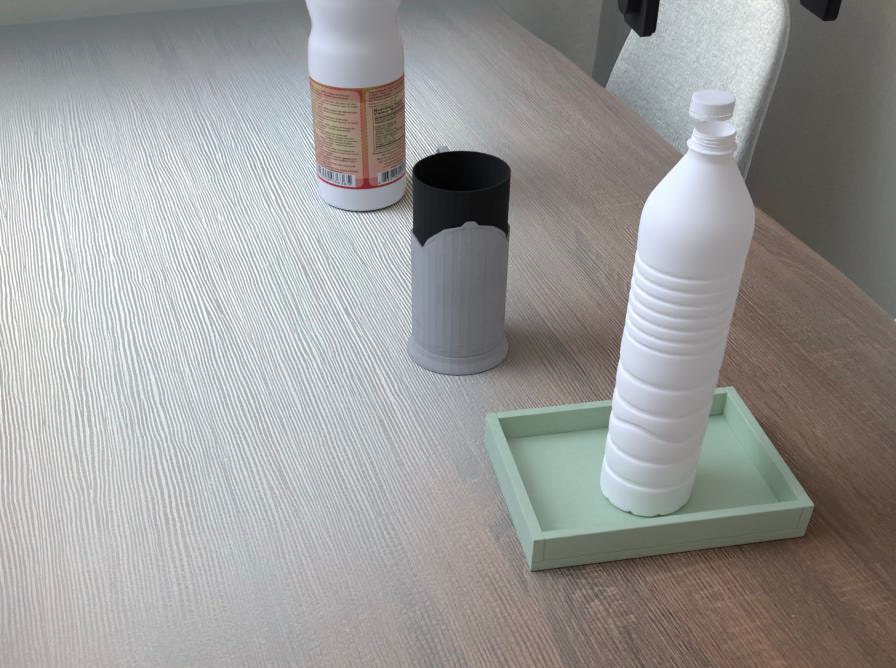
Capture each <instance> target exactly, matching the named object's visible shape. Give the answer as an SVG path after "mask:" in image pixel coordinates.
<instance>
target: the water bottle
mask: <svg viewBox="0 0 896 668" xmlns="http://www.w3.org/2000/svg"><path fill="white" fill-rule="evenodd" d="M736 101H737V99H736V96H735V95H734V93H733V94H732V93H731V92H729V91H726V90H722V89H713V88H709V89H708V88H707V89H701V90H697V91H695V92H693V94H692V95H691V98H690V104H689V109H688V115H690V117H691V118H693V119H695V120H697V121H699V122H697V123H696V124H694V127H693V128H692V130H693V131H692V134H691V137H689V138H688V139H687V141H686V145H687V147H688V150H687V152H685V154H684V155H683V156H682V157H681V158H680V159H679V161H678V162H677V163H676V164H675V165H674V166H673V167H672V168H671V169H670V170H669V172H668V173H667V174H666V175H665V176H664V177H663V178H662V179H661V180H660V182H659V183H658V184H657V185H656V187H654V188H653V189H652V191H651V193H650V194H649V195H648V197H647V199H646V201H645V203H644V205H643V208H642V211H641V214H640V218H639V224H638V225H639V226H638V231H637V243H636V251H635V256H634V264H633V266H632V276H631V280H630V289H629V294H628V301H627V306H626V314H625V319H624V321H625V322H624V323H625V324H624V327H623V332H622V337H621V342H620V350H619V351H620V352H619V361H618V363H617V368H616V373H615V374H616V375H615V386H614V389H613V394H612V399H611V400H612V411H611V414H610V419H609V431H608V434H607V439H606V446H605V455H604V458H603V464H602V470H601V476H600V487H601V490H602V493H603V495H604V496H605V497H606V498H607V499H609V501H610V502H611V504H613V505H614V506H615V507H617V508H619V509H621V510H623V511H626V512H629V511H631V512H632V513H633V514H635V515H640V516H656V515H657V514H659V515H667V514H670V513H673V512H675V511H677V510H678V509H680V507H681V506H684V505H685V504H686V502H687V501H688V499H689V497H690V495H691V492H692V487H693V483H694V479H695V474H696V467H697V464H698V461H699V458H700V453H701V446H702V442H703V439H704V436H705V432H706V428H707V423H708V416H709V414H710V411H711V407H712V402H713V396H714V393H715V390H716V388H717V387H718V382H719V377H720V370H721V368H722V365H723V361H724V358H725V352H726V347H727V342H728V336H729V333H730V330H731V324H732V322H733V317H734V311H735V309H736V304H737V299H738V296H739V291H740V286H741V284H742V279H743V274H744V271H745V267H746V260H747V258H748V255H749V251H750V248H751V244H752V241H753V236H754V231H755V225H756V214H755V206H754V202H753V199H752V197H751V196H752V195H751V194H750V192H749V189H748V187H747V185H746V182H745V180H744V178H743V175H742V173H741V171H740V169H739V166H738V164H737V162H736V159H735V157H734V153H735V152H736V151H737V149H738V147H739V144H738V143H737V142H736V137H737V128H736V127H735V126H734V125H733V124H731V123H730V122H729V123H728V122H726V121H729V120H731V119H732V118H733V115H734V111H735V106H736Z"/></svg>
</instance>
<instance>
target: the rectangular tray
mask: <svg viewBox="0 0 896 668" xmlns="http://www.w3.org/2000/svg"><path fill="white" fill-rule="evenodd" d="M612 400H613V399H604V400H596V401H586V402H577V403H569V404H560V405H552V406H541V407H534V408H532V407H531V408H523V409H515V410H506V411H497V412H487V413H485V418H484V435H483V436H484V437H483V444H484V447H485V450H486V453H487V455H488V458H489V461H490V464H491V466H492V467H491V468H492V469H493V472H494V475H495V477H496V480H497V483H498V486H499V488H500V491H501V494H502V497H503V500H504V502H505V505H506V507H507V511H508V514H509V516H510V519H511V522H512V524H513V527H514V530H515V533H516V536H517V538H518V540H519V543H520V546H521V549H522V551H523V554H524V558H525V560H526V563H527V566H528V568H529V571H530V572H536V571H543V570H551V569H559V568H567V567H575V566H583V565H590V564H598V563H605V562H614V561H622V560H630V559H638V558H645V557H652V556H661V555H667V554H668V555H669V554H677V553H683V552H691V551H700V550H707V549H716V548H722V547H723V548H724V547H730V546H731V547H732V546H739V545H747V544H754V543H761V542H771V541H778V540H785V539H793V538H802V537H805V534H806V532H807V528H808V526H809V522H810V520H811V517H812V514H813V511H814V508H815V504H814V502H813V501H812V499H811V498H810V497H809V495H808V494H807V492H806V490H805V489H804V487H803V486H802V485H801V483H800V482H799V480H798V479H797V478H796V475H794V473H793V472H792V470H791V469H790V467H789V465H787V463H786V461H785V460H784V458H783V457H782V455H781V454H780V453H779V451H778V450H777V448H776V447H775V445H774V444H773V442H772V441H771V439H770V438H769V437H768V434H766V432H765V430H764V429H763V428H762V426H761V425H760V424H759V422H758V420H757V419H756V418H755V416H754V414H753V413H752V412H751V410H750V409H749V408H748V406H747V404H746V402H744V400H743V398H742V397H741V395H740V394H739V392H738V391H737V390H736V388H735V387H734V386H725V387H723V386H721V387H716V390H715V393H714V396H713V402H712V407H711V411H710V414H709V416H708V423H707V428H706V432H705V436H704V439H703V442H702V446H701V453H700V458H699V461H698V464H697V467H696V474H695V479H694V483H693V487H692V492H691V495H690V497H689V499H688V501H687V502H686V504H685V505H684V506H681V507H680V509H678V510H677V511H675V512H673V513H670V514H667V515H659V514H657V515H656V516H640V515H635V514H633V513H632V512H631V511H629V512H626V511H623V510H621V509H619V508H617V507H615V506H614V505H613V504H611V502H610V501H609V499H607V498H606V497H605V496H604V495H603V493H602V490H601V487H600V476H601V470H602V464H603V458H604V455H605V446H606V439H607V434H608V431H609V419H610V414H611V411H612Z"/></svg>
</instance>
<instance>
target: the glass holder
mask: <svg viewBox="0 0 896 668" xmlns="http://www.w3.org/2000/svg"><path fill="white" fill-rule="evenodd" d="M511 176H512V170H511V166H510V165H509V164H508V162H506V161H505V160H504V159H502V158H500V157H498V156H496V155H492V154H490V153H487V152H482V151H481V152H480V151H473V150H449V147H448V146H447V145H438V146H437V147H436V150H435V153H433V154H430V155H427V156H425V157H423V158H421V159H419V160H418V161H417V162H416V163H415V164H414V165H413V167H412V169H411V178H412V179H411V183H412V184H411V185H412V187H411V188H412V189H411V191H412V228H411V229H410V273H411V274H410V275H411V276H410V278H411V280H410V282H411V283H410V285H411V286H410V287H411V335H410V336H409V338H408V340H407V344H406V350H407V354H408V356H409V357H410V359H411V360H412V362H414V363H415V364H417V365H418V366H419V367H422V368H423V369H425V370H427V371H430V372H434V373H438V374H442V375H449V376H467V375H474V374H479V373H483V372H486V371H488V370H491V369H493V368H495V367H496V366H499V364H501V363H502V362H503V361H504V360H505V359H506V357H507V355H508V353H509V343H508V340H507V337H506V334H505V320H506V305H507V303H506V302H507V288H508V287H507V286H508V268H509V250H510V236H511V235H510V234H511V226H510V223H509V214H510V213H509V212H510V196H511V195H510V193H511V180H512V179H511V178H512V177H511Z"/></svg>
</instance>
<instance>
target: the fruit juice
mask: <svg viewBox="0 0 896 668" xmlns="http://www.w3.org/2000/svg"><path fill="white" fill-rule="evenodd" d="M304 1H305V5H306V8H307V11H308V15H309V17H310V23H311V28H310V33H309V36H308V40H307V68H308V69H307V70H308V80H309V90H310V92H309V93H310V103H311V105H310V106H311V117H312V129H313V143H314V154H315V169H316V182H317V188H318V192H319V195H320V198H321V199H322V200H323V201H324V202H325V203H326V204H328V205H329V206H332V207H333V208H336V209H337V208H338V209H340V210H345V211H352V212H366V211H368V212H369V211H376V210H380V209H384V208H388V207H390V206H392V205H394V204H396V203H397V202H399V201H400V200H401V199H402V198H403V197H404V195H405V193H406V187H407V158H406V157H407V152H406V151H407V149H406V148H407V147H406V146H407V145H406V144H407V143H406V142H407V141H406V99H405V98H406V92H405V91H406V89H405V86H406V85H405V84H406V83H405V71H406V70H405V50H404V42H403V37H402V34H401V31H400V29H399V26H398V17H399V11H400V6H401V2H402V0H304Z"/></svg>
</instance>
